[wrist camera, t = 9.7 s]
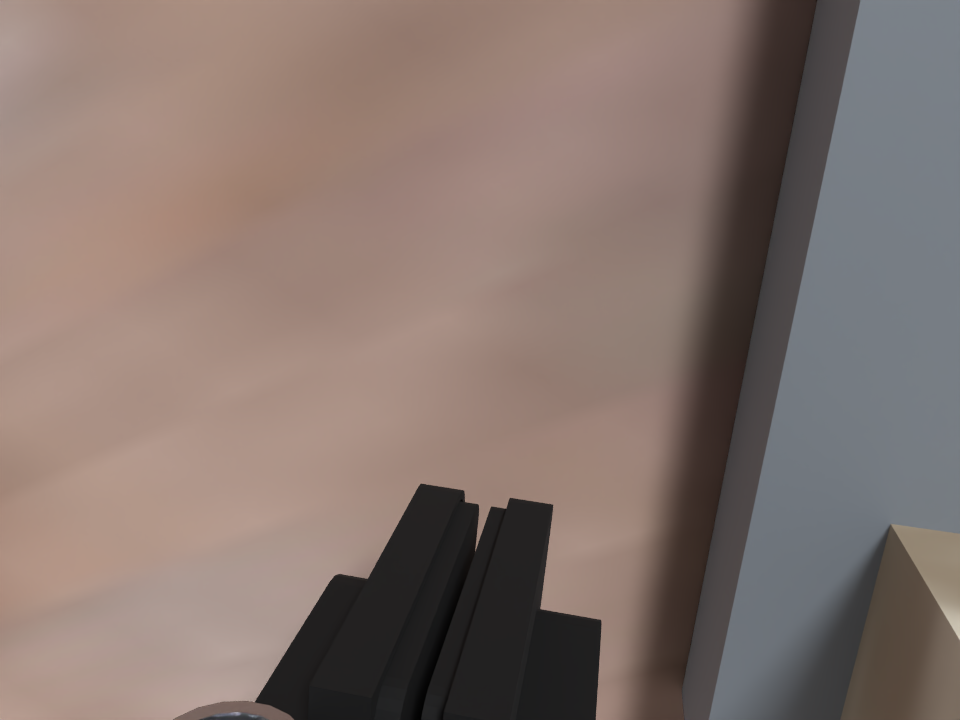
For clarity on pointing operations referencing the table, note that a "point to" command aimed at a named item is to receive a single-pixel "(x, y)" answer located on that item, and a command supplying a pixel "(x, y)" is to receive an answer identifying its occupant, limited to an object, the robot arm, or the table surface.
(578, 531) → the table surface
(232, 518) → the table surface
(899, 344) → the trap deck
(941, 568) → the block
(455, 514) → the robot arm
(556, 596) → the table surface
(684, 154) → the table surface
